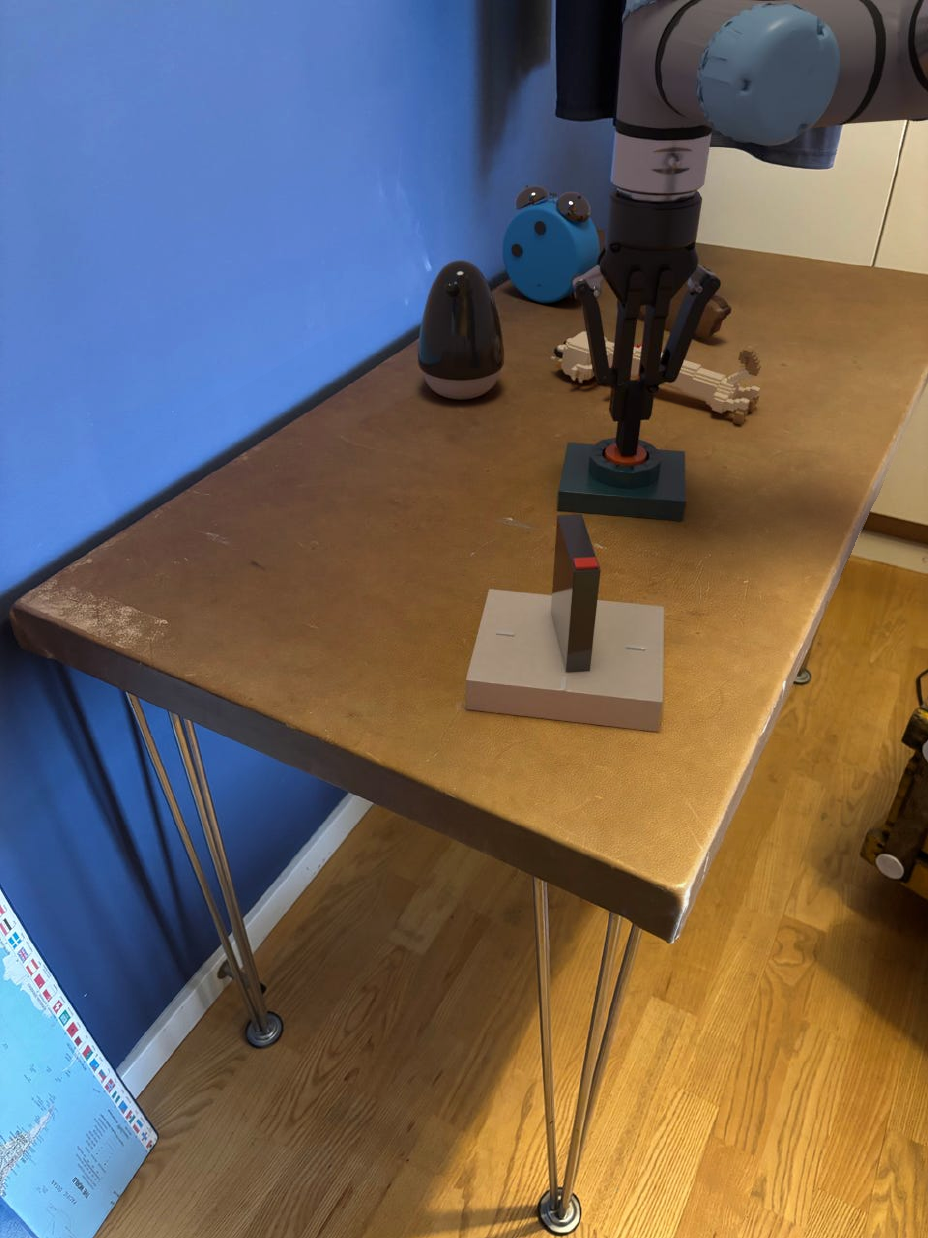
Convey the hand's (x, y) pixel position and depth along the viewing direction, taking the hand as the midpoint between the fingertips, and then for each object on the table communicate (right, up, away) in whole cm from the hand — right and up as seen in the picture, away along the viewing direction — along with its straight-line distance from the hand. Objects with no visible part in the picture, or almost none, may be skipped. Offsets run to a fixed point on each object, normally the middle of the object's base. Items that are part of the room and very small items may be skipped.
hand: (625, 448), depth 89 cm
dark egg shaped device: (-16, +11, +21) cm, 29 cm away
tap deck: (-8, -21, -18) cm, 29 cm away
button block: (0, -4, +3) cm, 5 cm away
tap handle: (-8, -18, -20) cm, 28 cm away
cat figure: (+6, +10, +20) cm, 23 cm away
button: (0, -2, +1) cm, 2 cm away
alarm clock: (-3, +30, +45) cm, 55 cm away
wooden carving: (+13, +23, +36) cm, 44 cm away
